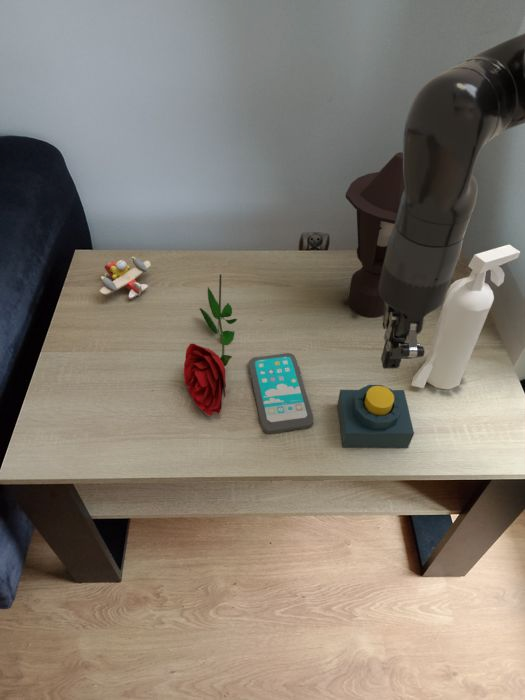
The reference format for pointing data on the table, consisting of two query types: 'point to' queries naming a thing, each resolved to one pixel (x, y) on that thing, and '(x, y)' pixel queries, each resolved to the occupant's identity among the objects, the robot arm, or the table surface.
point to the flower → (209, 362)
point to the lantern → (374, 232)
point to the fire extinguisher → (462, 320)
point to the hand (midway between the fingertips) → (389, 364)
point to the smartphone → (280, 393)
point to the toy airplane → (124, 277)
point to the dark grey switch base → (373, 421)
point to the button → (379, 400)
